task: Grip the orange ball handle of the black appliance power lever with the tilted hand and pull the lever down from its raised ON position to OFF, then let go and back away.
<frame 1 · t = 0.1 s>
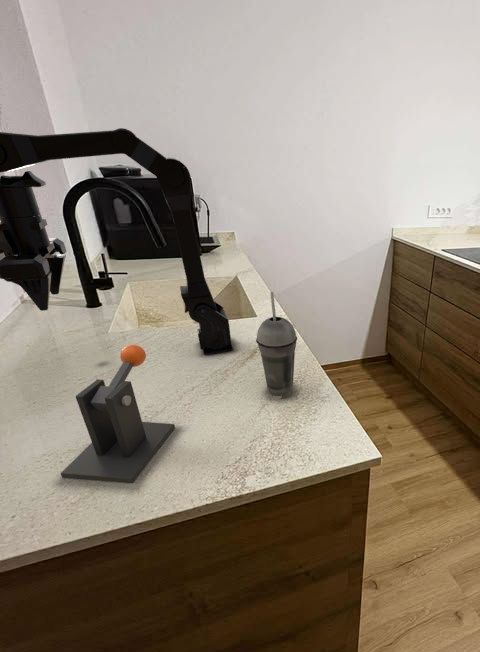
hand: (50, 301, 73), 15 cm above the worktop, tool pointing down, fingers open, 9 cm apart
beverage cup: (280, 393, 75), on the worktop
power lever: (121, 375, 57), point 12 cm above the worktop, hinge at 22.0°
switch bracket: (124, 453, 59), on the worktop
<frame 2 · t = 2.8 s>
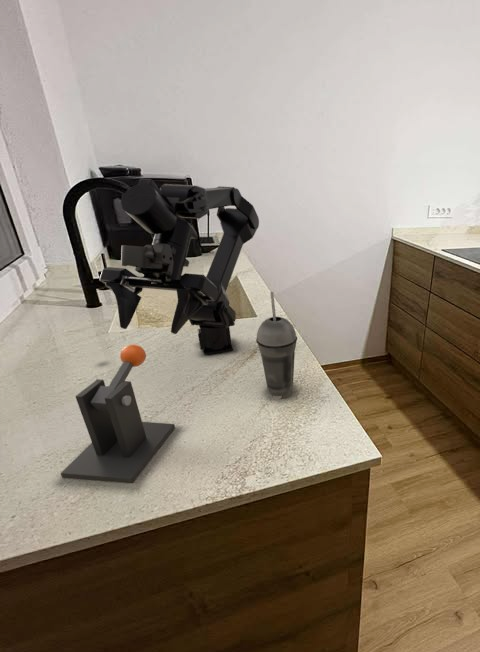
hand: (148, 330, 66), 14 cm above the worktop, tool tilted 40°, fingers open, 9 cm apart
nothing on the worktop moved.
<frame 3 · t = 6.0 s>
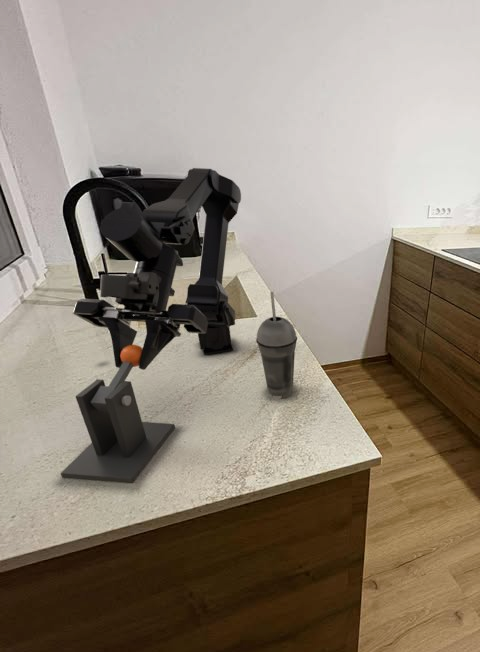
hand: (130, 368, 59), 12 cm above the worktop, tool tilted 45°, fingers closed on power lever, 3 cm apart
power lever: (121, 375, 57), point 12 cm above the worktop, hinge at 22.0°, touching gripper
everything else where it was.
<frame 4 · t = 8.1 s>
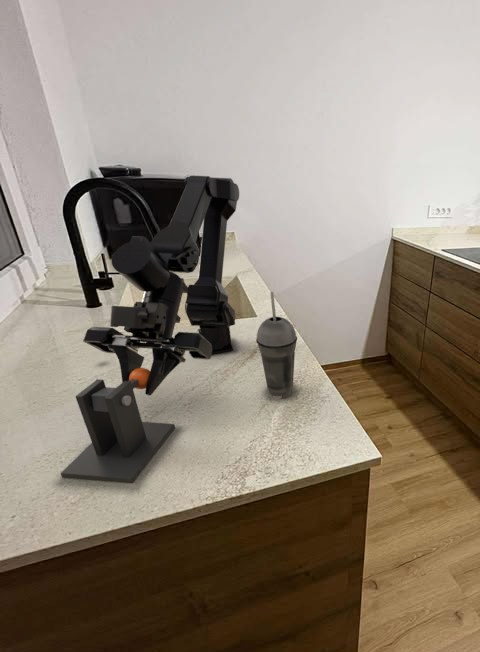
hand: (137, 394, 61), 7 cm above the worktop, tool tilted 45°, fingers closed on power lever, 3 cm apart
power lever: (126, 387, 58), point 9 cm above the worktop, hinge at -9.8°, touching gripper
everything else where it was.
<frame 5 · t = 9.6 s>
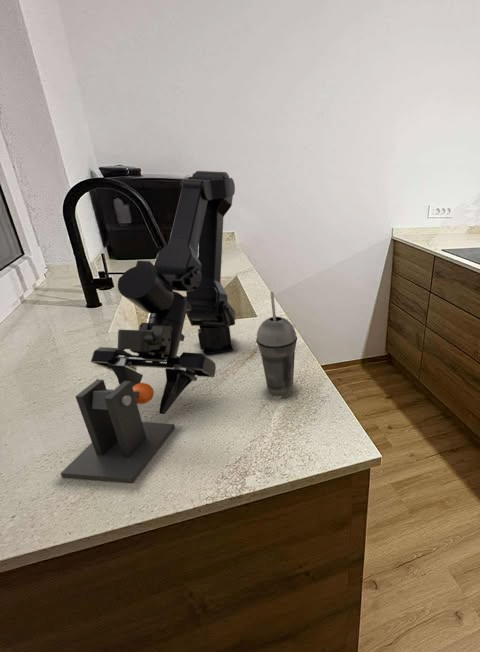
hand: (143, 412, 63), 3 cm above the worktop, tool tilted 45°, fingers open, 6 cm apart
power lever: (126, 396, 58), point 8 cm above the worktop, hinge at -27.5°
everything else where it was.
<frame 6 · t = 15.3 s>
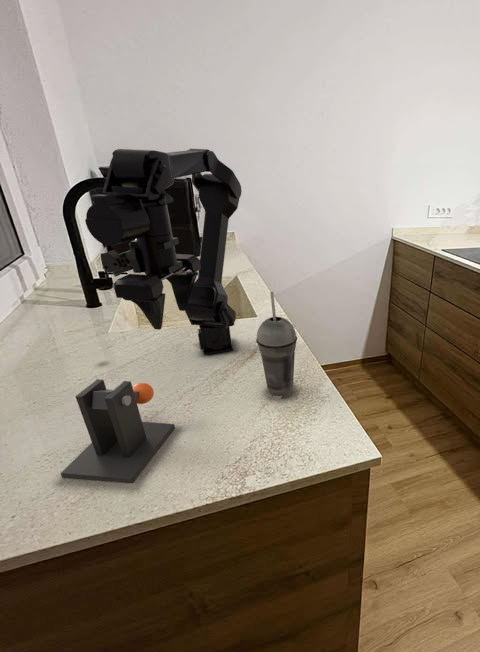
hand: (170, 319, 72), 13 cm above the worktop, tool pointing down, fingers open, 9 cm apart
nothing on the worktop moved.
at the end: power lever at -28° (first picture: +22°); beverage cup moved 0.2 cm from its start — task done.
